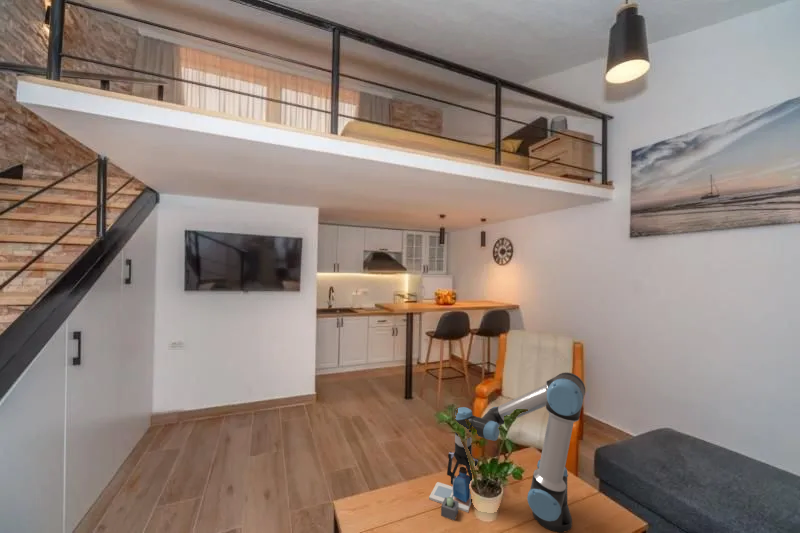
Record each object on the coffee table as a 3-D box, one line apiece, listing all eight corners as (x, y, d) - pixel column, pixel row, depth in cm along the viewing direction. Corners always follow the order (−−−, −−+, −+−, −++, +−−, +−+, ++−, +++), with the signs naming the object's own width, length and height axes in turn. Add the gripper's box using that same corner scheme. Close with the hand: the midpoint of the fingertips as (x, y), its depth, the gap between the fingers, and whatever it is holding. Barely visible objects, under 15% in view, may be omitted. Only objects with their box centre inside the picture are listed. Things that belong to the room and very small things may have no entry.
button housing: (458, 511, 138) (458, 501, 138) (454, 520, 132) (454, 510, 132) (445, 506, 140) (445, 497, 140) (441, 515, 135) (441, 506, 135)
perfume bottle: (465, 502, 140) (466, 474, 140) (453, 496, 143) (453, 469, 144) (471, 494, 145) (472, 468, 145) (459, 488, 148) (459, 463, 149)
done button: (453, 507, 137) (454, 498, 137) (452, 511, 134) (452, 502, 134) (447, 505, 138) (447, 496, 138) (445, 509, 135) (446, 500, 136)
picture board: (473, 495, 148) (473, 492, 148) (468, 512, 137) (468, 509, 137) (437, 483, 155) (437, 481, 155) (429, 499, 144) (429, 496, 144)
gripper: (486, 444, 144) (486, 495, 143) (444, 434, 152) (443, 482, 152) (483, 453, 137) (483, 506, 136) (440, 441, 145) (439, 492, 145)
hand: (462, 494), depth 144 cm, fingers closed on perfume bottle, 7 cm apart
